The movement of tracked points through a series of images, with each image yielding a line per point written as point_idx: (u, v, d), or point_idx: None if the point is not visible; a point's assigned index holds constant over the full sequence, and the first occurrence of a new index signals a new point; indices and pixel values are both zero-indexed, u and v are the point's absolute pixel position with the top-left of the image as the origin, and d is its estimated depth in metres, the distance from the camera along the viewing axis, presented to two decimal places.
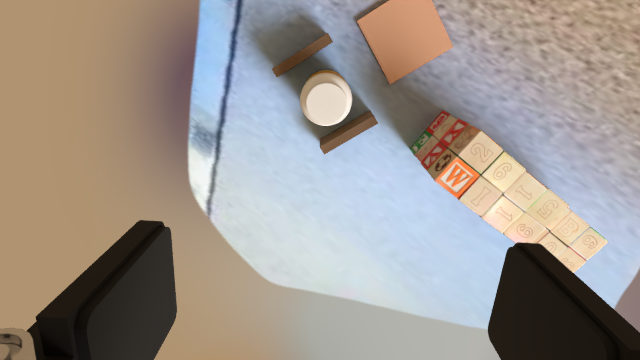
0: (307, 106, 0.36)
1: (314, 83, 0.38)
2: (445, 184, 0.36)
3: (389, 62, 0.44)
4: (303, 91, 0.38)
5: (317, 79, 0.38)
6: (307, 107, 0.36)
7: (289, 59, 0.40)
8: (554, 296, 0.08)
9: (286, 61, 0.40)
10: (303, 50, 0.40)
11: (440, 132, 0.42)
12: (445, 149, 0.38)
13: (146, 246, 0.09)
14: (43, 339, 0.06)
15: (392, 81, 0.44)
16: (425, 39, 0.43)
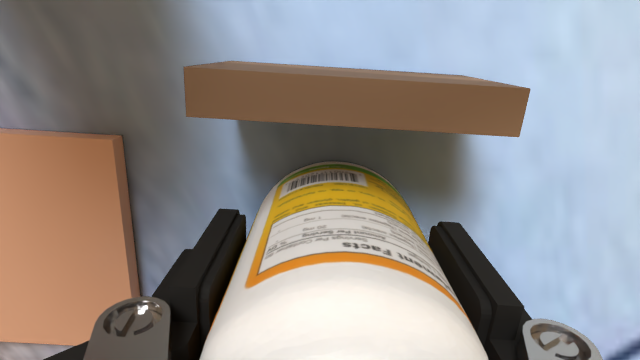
0: None
1: None
2: None
3: (88, 204, 0.12)
4: None
5: None
6: None
7: None
8: (455, 265, 0.09)
9: None
10: None
11: None
12: None
13: (233, 230, 0.10)
14: (173, 306, 0.07)
15: (101, 144, 0.12)
16: None
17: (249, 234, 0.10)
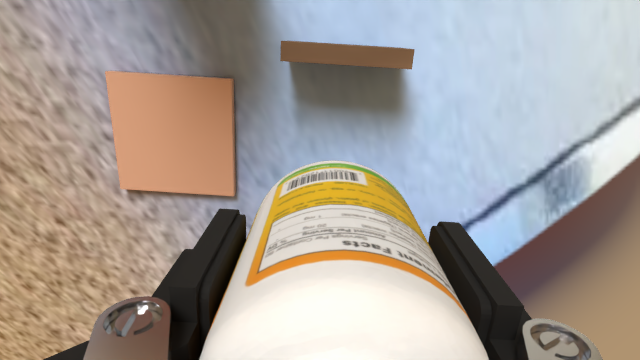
0: None
1: None
2: None
3: (216, 113, 0.25)
4: None
5: None
6: None
7: None
8: (455, 265, 0.09)
9: None
10: None
11: None
12: None
13: (233, 231, 0.10)
14: (173, 306, 0.07)
15: (225, 81, 0.24)
16: (145, 111, 0.25)
17: (249, 233, 0.10)
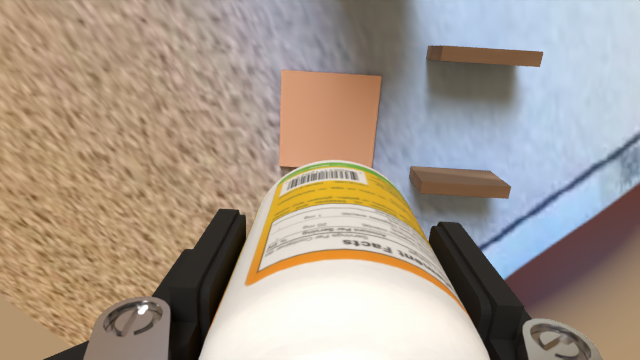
0: None
1: None
2: None
3: (365, 103, 0.31)
4: None
5: None
6: None
7: (481, 195, 0.30)
8: (455, 265, 0.09)
9: (486, 195, 0.30)
10: (459, 193, 0.30)
11: None
12: None
13: (233, 231, 0.10)
14: (173, 306, 0.07)
15: (376, 78, 0.30)
16: (309, 102, 0.31)
17: (249, 232, 0.10)
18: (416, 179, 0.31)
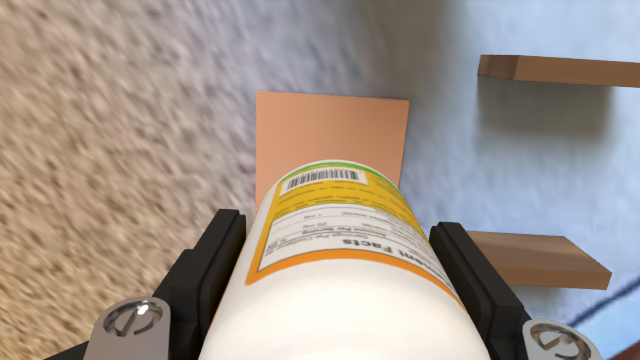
0: None
1: None
2: None
3: (385, 141, 0.20)
4: None
5: None
6: None
7: (565, 285, 0.19)
8: (455, 265, 0.09)
9: (572, 285, 0.19)
10: (531, 283, 0.19)
11: None
12: None
13: (233, 231, 0.10)
14: (173, 306, 0.07)
15: (402, 103, 0.20)
16: (299, 139, 0.20)
17: (249, 232, 0.10)
18: None
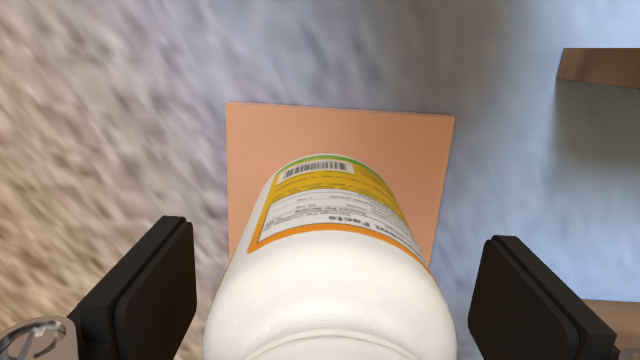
0: None
1: None
2: None
3: (416, 176, 0.14)
4: None
5: None
6: None
7: None
8: (524, 285, 0.08)
9: None
10: None
11: None
12: None
13: (172, 240, 0.09)
14: (84, 326, 0.07)
15: (444, 121, 0.13)
16: None
17: None
18: None
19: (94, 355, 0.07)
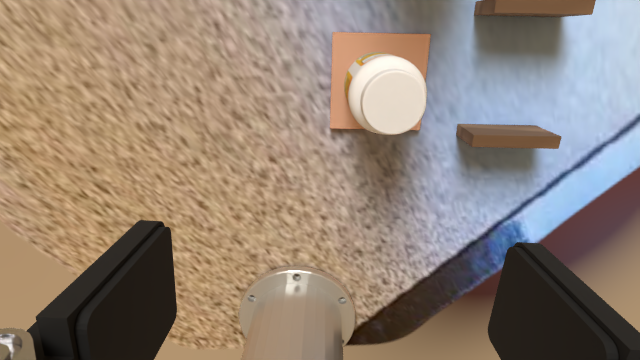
0: (420, 116, 0.24)
1: None
2: None
3: (415, 62, 0.32)
4: None
5: None
6: (421, 114, 0.24)
7: (532, 146, 0.31)
8: (554, 296, 0.08)
9: (536, 146, 0.31)
10: (510, 145, 0.31)
11: None
12: None
13: (146, 246, 0.09)
14: (43, 339, 0.06)
15: (426, 36, 0.31)
16: None
17: (349, 72, 0.30)
18: (466, 134, 0.32)
19: None
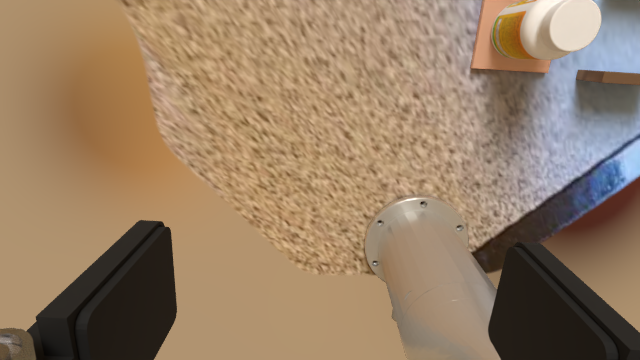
0: (594, 36, 0.30)
1: (554, 53, 0.32)
2: None
3: None
4: (568, 52, 0.33)
5: (548, 54, 0.32)
6: (595, 35, 0.30)
7: None
8: (554, 296, 0.08)
9: None
10: (633, 82, 0.37)
11: None
12: None
13: (146, 246, 0.09)
14: (43, 339, 0.06)
15: None
16: None
17: (507, 14, 0.36)
18: (592, 74, 0.38)
19: None
